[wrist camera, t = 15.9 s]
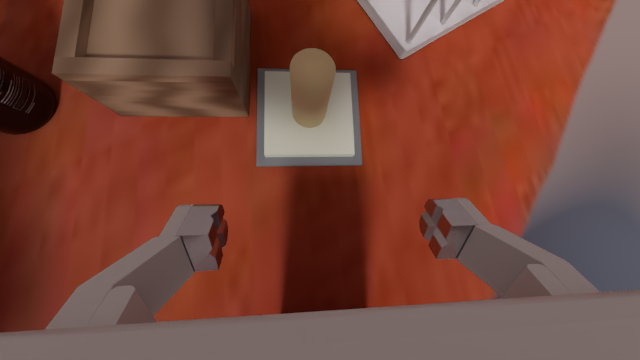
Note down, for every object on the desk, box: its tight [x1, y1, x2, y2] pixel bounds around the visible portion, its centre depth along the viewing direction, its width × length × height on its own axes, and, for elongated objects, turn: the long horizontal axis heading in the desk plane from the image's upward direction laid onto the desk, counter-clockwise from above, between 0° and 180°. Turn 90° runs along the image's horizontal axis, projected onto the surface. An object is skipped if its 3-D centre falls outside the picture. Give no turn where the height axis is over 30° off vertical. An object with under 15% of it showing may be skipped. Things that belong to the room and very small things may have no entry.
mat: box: [256, 68, 362, 167], centre depth 30 cm, size 12×12×1 cm
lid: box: [264, 48, 355, 157], centre depth 25 cm, size 10×10×9 cm
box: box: [52, 0, 251, 117], centre depth 26 cm, size 14×14×8 cm
